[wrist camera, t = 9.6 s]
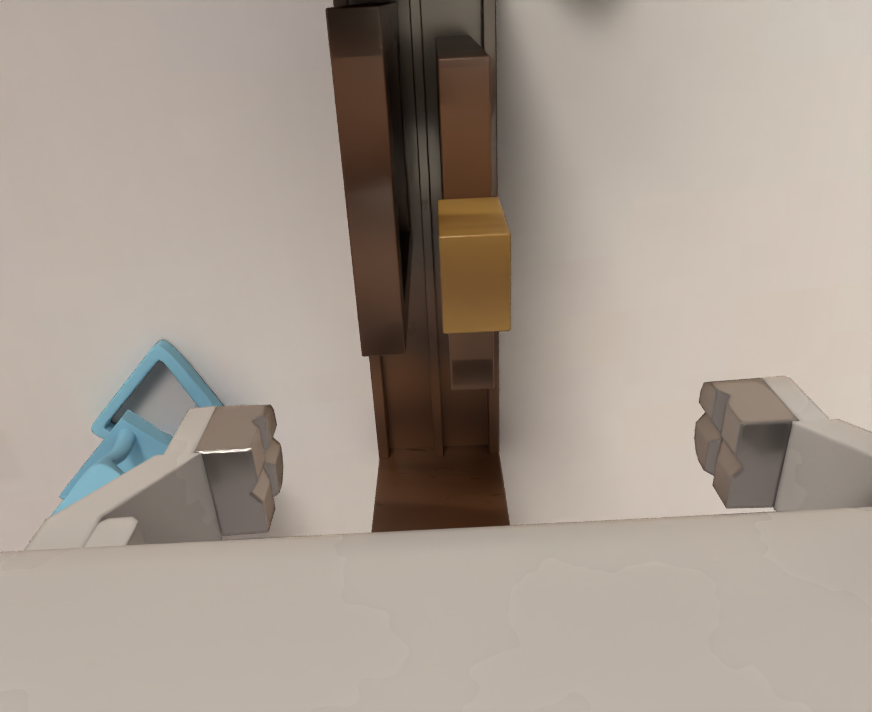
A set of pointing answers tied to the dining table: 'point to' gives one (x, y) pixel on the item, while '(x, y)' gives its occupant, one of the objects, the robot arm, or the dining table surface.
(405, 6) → the window frame
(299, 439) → the dining table surface
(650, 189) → the dining table surface
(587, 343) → the dining table surface
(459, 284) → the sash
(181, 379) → the chair
